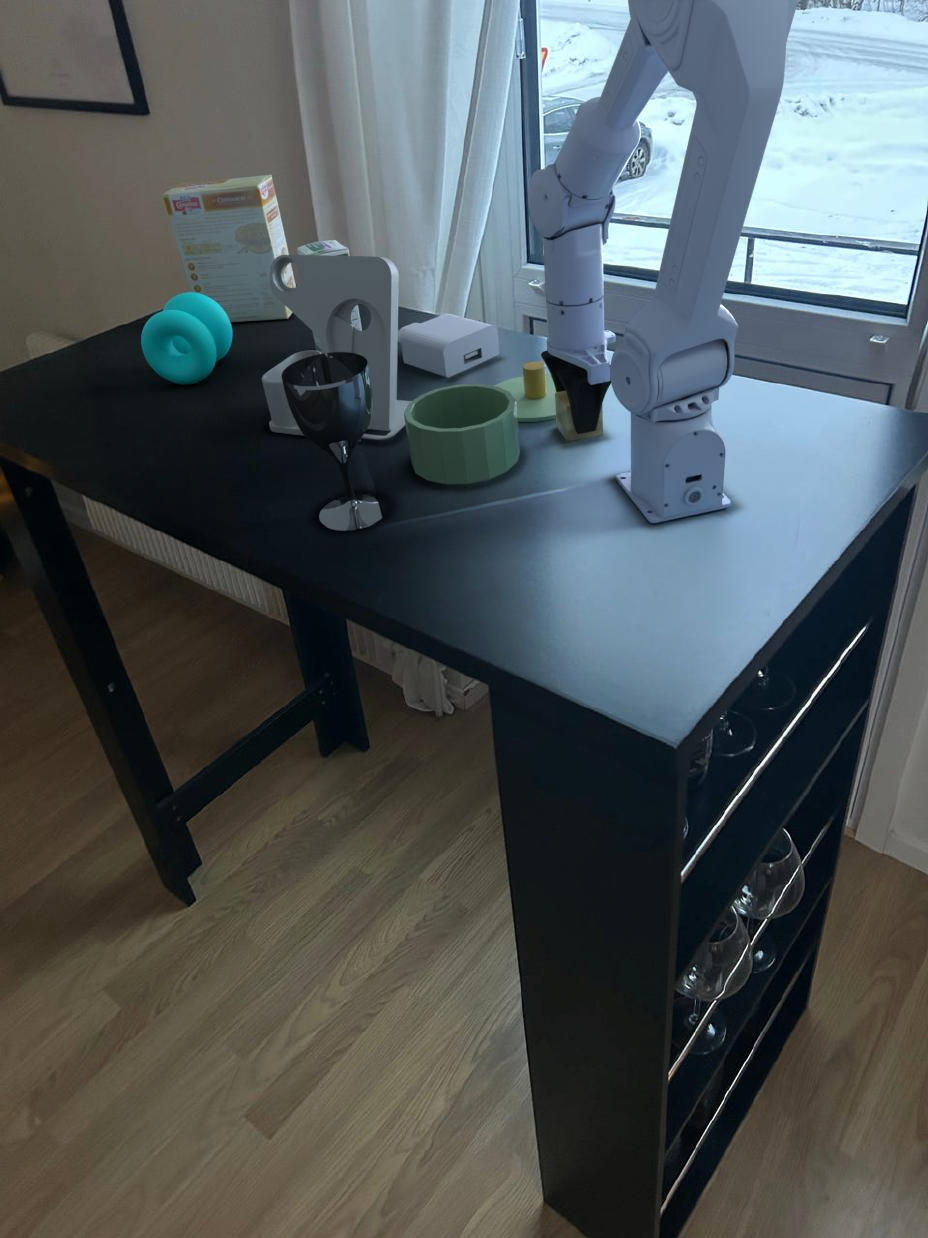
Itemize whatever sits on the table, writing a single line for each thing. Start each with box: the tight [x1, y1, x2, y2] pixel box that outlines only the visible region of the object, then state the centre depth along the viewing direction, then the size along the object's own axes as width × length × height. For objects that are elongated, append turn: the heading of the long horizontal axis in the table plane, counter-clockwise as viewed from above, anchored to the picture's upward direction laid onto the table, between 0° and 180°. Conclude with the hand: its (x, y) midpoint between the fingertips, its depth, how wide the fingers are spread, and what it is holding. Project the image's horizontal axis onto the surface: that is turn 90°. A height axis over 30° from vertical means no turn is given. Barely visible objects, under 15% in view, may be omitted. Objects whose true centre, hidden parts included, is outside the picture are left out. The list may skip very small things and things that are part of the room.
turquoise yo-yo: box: [140, 291, 234, 386], centre depth 125 cm, size 10×10×10 cm
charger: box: [398, 313, 500, 379], centre depth 122 cm, size 5×9×15 cm
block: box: [555, 391, 604, 442], centre depth 99 cm, size 4×4×4 cm
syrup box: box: [296, 239, 363, 352], centre depth 124 cm, size 6×6×14 cm
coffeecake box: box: [162, 174, 297, 323], centre depth 141 cm, size 15×7×20 cm, turn 82°
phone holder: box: [261, 254, 413, 443], centre depth 105 cm, size 17×10×18 cm, turn 65°
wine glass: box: [281, 352, 385, 532], centre depth 88 cm, size 8×8×15 cm
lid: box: [494, 360, 556, 423], centre depth 107 cm, size 12×12×5 cm
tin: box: [404, 383, 521, 485], centre depth 96 cm, size 11×11×6 cm
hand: (579, 422), depth 100 cm, fingers closed on block, 4 cm apart
